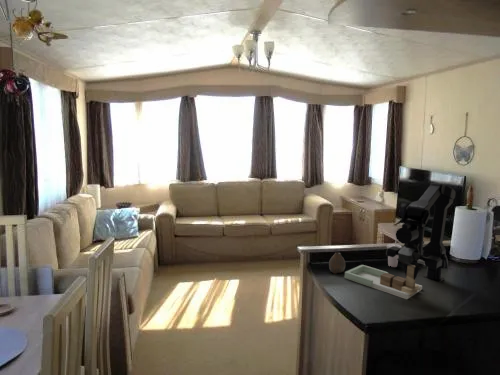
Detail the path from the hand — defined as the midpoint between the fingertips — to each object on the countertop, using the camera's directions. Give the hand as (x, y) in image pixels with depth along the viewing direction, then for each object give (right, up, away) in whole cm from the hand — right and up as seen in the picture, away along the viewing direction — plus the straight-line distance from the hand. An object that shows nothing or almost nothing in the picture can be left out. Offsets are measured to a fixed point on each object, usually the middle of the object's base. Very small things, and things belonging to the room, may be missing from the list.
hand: (411, 278), depth 138 cm
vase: (-23, -3, +22) cm, 32 cm away
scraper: (0, -5, +1) cm, 5 cm away
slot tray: (-8, -5, +9) cm, 13 cm away
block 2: (-3, -5, +4) cm, 7 cm away
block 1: (-6, -4, +7) cm, 11 cm away
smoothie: (+6, -2, +32) cm, 33 cm away
